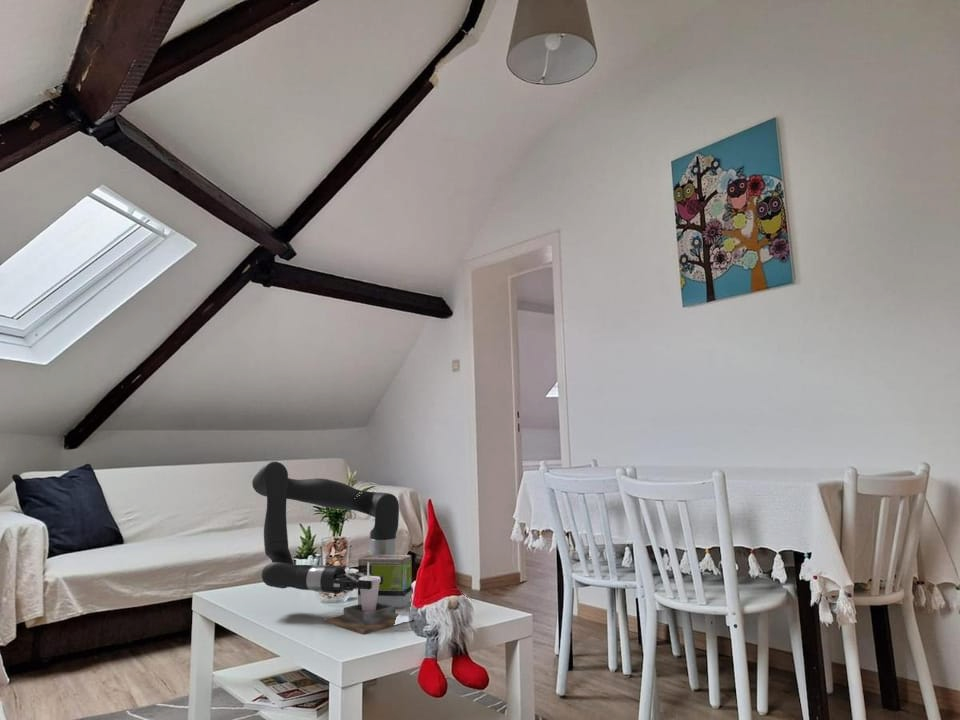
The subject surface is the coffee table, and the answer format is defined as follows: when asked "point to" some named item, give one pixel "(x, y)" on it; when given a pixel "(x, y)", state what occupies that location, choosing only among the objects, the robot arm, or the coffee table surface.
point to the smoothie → (370, 592)
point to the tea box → (390, 577)
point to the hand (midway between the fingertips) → (377, 582)
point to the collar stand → (365, 618)
